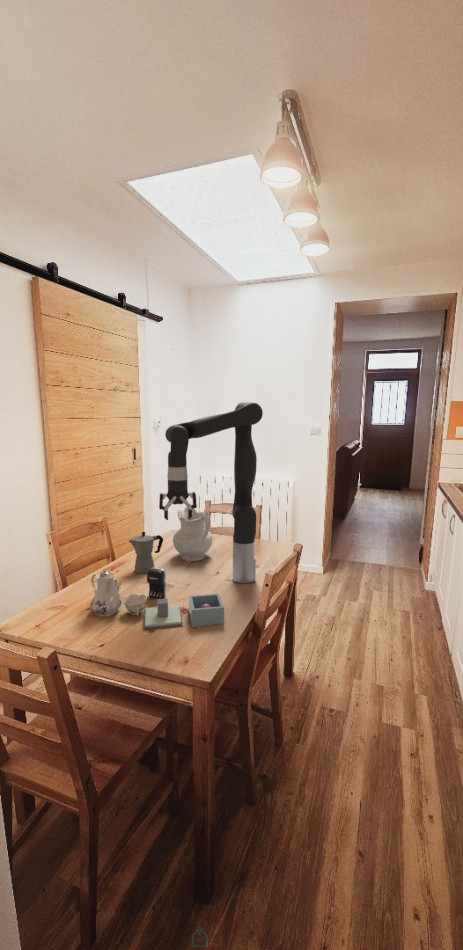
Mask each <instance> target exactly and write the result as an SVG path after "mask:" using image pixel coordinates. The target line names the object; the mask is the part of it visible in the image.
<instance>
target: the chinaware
mask: <svg viewBox="0 0 463 950" xmlns="http://www.w3.org/2000/svg"><path fill="white" fill-rule="evenodd" d="M114 577H115V574H114V573H113V572H109V571H108V570H107V569H106V568H105V567H104V568H103V569H102V571H101V572H100V573H95V574H93V575H92V576H91V585H92V587H93V589H94V597H93V598H92V599H91V602H90V607H91V610H92V611H93V612H94V613H93V614H94V615H95V616H96V617H101V618H102V617H103V618H104V617H110V616H113V615H115V614H117V613H118V611H119V608H120V607H121V606H122V603H123V605H124V606H125V609H126V610H127V611H128V612H129V613H130V615H132V616H139V614H140V613H141V612H142V611H143V610H144V608H145V607H146V606H145V605H146V603H147V601H148V598H147V596H146V595H145V594H140V595H139V594H136V593H133V594H130V595H129V596H127V597H124V598H122V600H121V597H120V594H119V593H120V592H119V591H120V587H122V582H118V579H115V580H114ZM94 579H96V584H95V580H94Z"/></svg>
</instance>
